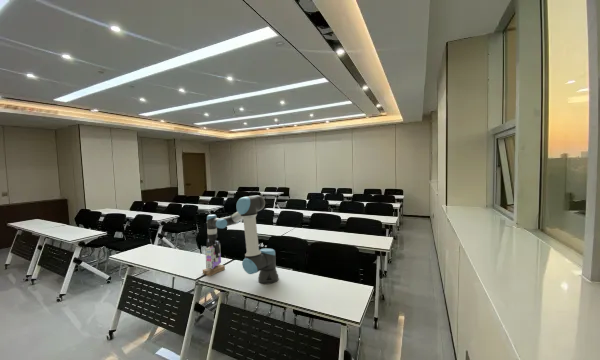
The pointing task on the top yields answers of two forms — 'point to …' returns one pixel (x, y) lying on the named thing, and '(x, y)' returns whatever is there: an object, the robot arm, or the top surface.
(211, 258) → the candy box
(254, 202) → the robot arm
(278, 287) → the top surface
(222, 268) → the plinth
